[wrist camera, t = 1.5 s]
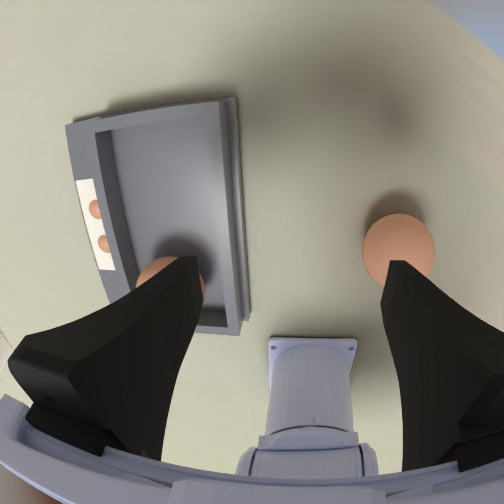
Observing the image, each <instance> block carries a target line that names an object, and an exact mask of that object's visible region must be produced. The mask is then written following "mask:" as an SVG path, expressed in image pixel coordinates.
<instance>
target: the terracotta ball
mask: <svg viewBox="0 0 504 504" xmlns="http://www.w3.org/2000/svg"><path fill="white" fill-rule="evenodd" d="M434 255H435V250H434V243H433V239H432V236H431V234H430V232H429V231H428V229H427V228H426V227H425V225H424V224H423V223H422V222H420V221H419V220H418V219H416V218H414V217H412V216H410V215H406V214H391V215H387V216H385V217H382V218H381V219H379V220H378V221H376V222H375V223H374V224H373V225H372V226H371V228H370V229H369V230H368V232H367V234H366V236H365V239H364V242H363V247H362V257H363V262H364V265H365V268H366V270H367V272H368V274H369V275H370V276H371V277H372V279H373V280H374V281H375V282H377V283H378V284H379V285H381V286H383V287H384V286H385V282H386V277H387V272H388V267H389V262H390V260H405V261H407V262H408V263H409V264H411V265H412V266H413V267H415V268H416V269H417V270H418V271H419V272H420V273H422V274H423V275H424V276H425V277H426V276H427V275H428V273H429V272H430V269H431V267H432V265H433V261H434Z"/></svg>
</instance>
